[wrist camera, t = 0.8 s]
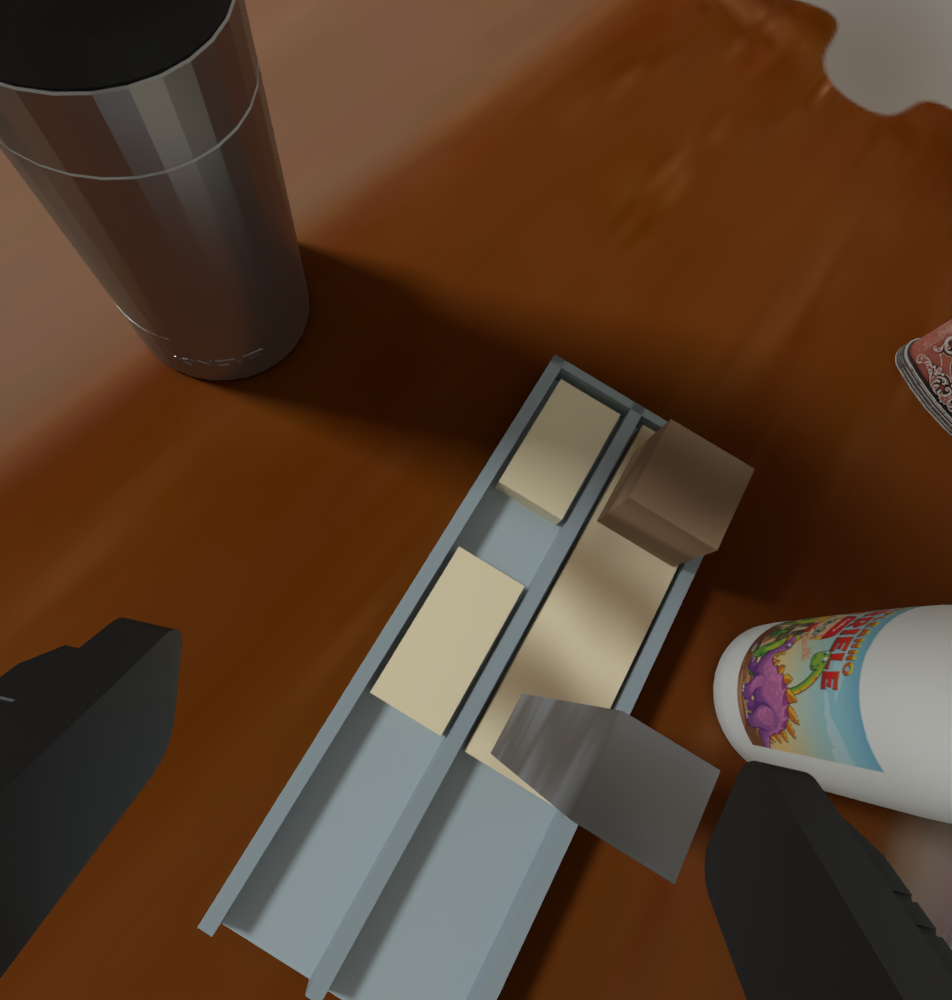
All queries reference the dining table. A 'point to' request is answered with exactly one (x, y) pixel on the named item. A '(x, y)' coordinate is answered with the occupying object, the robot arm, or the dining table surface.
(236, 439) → the dining table surface
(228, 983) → the dining table surface
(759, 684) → the milk bottle
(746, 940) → the robot arm
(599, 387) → the lane board
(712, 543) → the walnut cube
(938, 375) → the lighter
